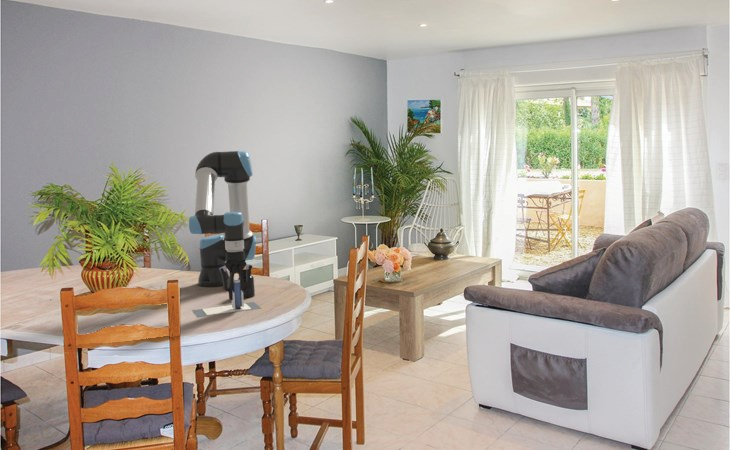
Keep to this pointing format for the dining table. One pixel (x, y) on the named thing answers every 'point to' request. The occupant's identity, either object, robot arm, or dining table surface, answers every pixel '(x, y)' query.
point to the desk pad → (202, 314)
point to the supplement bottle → (251, 290)
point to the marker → (237, 293)
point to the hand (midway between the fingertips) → (237, 306)
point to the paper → (224, 309)
